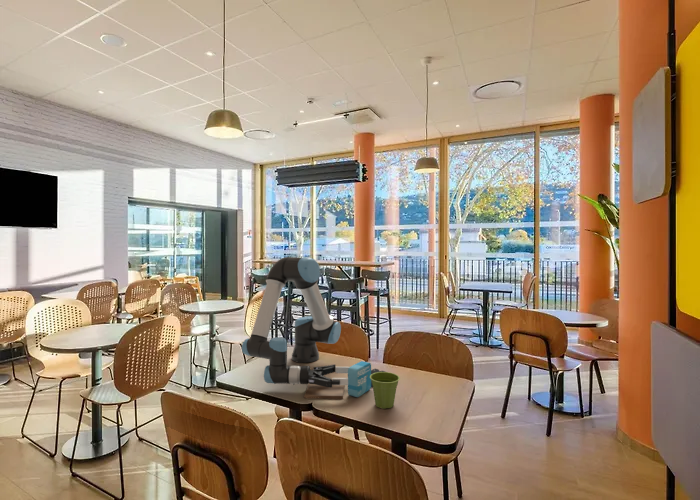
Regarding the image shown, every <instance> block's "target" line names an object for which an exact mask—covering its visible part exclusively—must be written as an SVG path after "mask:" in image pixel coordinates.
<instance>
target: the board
mask: <svg viewBox="0 0 700 500" xmlns="http://www.w3.org/2000/svg"><path fill="white" fill-rule="evenodd" d="M307 385H308V386H307V388H306V390H305V392H304V399H325V400H326V399H329V400H332V399H333V400H335V399H337V400H344V394H345V393H344V392H345V386H346V385H332V387H331V388H330V387H324V386H320V385H315V384H307Z"/></svg>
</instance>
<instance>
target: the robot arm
mask: <svg viewBox="0 0 700 500" xmlns="http://www.w3.org/2000/svg"><path fill="white" fill-rule="evenodd" d="M320 268H321V267H320V265H319V263H318V261H317V260H316V259H314V258H312V257H307V256H303V257H297V256H295V257H292V256H291V257H289V256H286V257H282V258H280V259H279V260H277V261H276V262H274V264H273V265H272V267H271V268H270V270H269V271H268V274H267V276H266V279H265V282H266V286H265V289H264V292H263V294H262V295H263V296H262V298H261V302H260V306H259V307H258V311H257V313H256V314H257V315H256V318H255V322H254V325H253V328H252V330H251V331H252V332H251V334H250V337H248V338H246V339H244V341H243V342H242V345H241V352H242V354H244V355H245V356H248V357H253V358H260V359H266V360H269V365H266V366H265V368H264V371H263V380H264V382H265V383H266V384H274V385H276V384H277V385H278V384H279V385H280V384H281V385H293V386H294V385H309V384H315V385H320V386H324V387H330V388H331V387H332V385H345V386H348V377H332V378H331V377H327V376H325V375H330V374H333V373H335V374H348V369H349V367H350V366H337V365H336V364H330V365H329V364H328V365H324V366H323V365H321V366H314V367H313V369H311V367H310V365H301V366H300V365H288V342H287V339H286V338H285V337H280V336H279V337H272V338H270V339H269V340H268V337H269V333H270V330H271V327H272V324H273V320H274V316H275V315H276V314H275V313H276V311H277V310H276V309H277V307H278V303H279V299H280V297H281V293H282V289H283V288H285V287H286V285H287V284H286V283H287V282H294V286H295V287H296V289H298V290H300V292H301V294H302V296H303V298H304V300H305V303H306V306H307V309H308V310H309V311H308V312H309V313H310V315H309V316H301V317H298V318H296V319H295V320H294V347H293V350H292V354H291V360H292V361H293V362H295V363H300V364H302V363H303V364H304V363H307V364H308V363H313V362H316V361H318V360H319V359H320V353H319V350H318V347H317V343H323V344H328V345H329V344H332V345H333V344H336V343H337V342H338V341H339V339H340V336H341V331H342V325H341V323H340V322H339V321H335V319H334V317H333V315H331V314H329V311H328V308H327V306H326V303H325V301H324V298H323V296H322V294H321V290H320V288H319V284H318V281H319V279H320V276H321V271H320V270H321V269H320Z"/></svg>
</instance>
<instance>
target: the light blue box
mask: <svg viewBox="0 0 700 500" xmlns="http://www.w3.org/2000/svg"><path fill="white" fill-rule="evenodd" d="M348 367H349V369H348V373H347V378H348V385H347V394H348V396H351V397H355V398H360V397H361V396H362V395H364V394H366V393H367V392H368V391H371V388H372V386H371V379H370V375H371V370H372V364H371V362H367V361H364V360H363V361H362V360H360V361H359V362H357V363H355V364H352V365H351V366H348Z"/></svg>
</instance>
